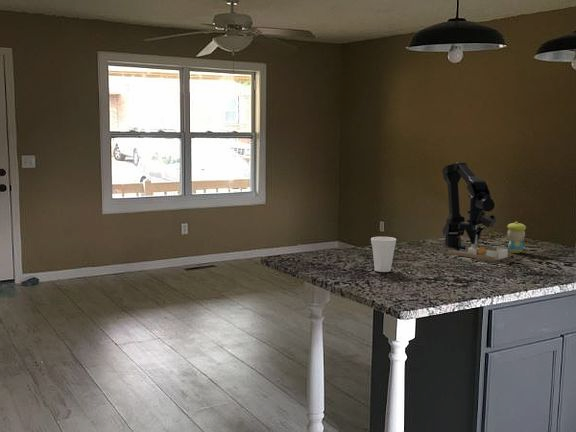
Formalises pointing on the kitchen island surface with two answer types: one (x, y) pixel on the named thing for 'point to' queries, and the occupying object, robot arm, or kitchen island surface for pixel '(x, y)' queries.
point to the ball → (481, 251)
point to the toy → (516, 237)
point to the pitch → (467, 254)
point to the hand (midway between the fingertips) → (474, 243)
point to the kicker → (474, 247)
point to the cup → (383, 252)
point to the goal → (498, 253)
